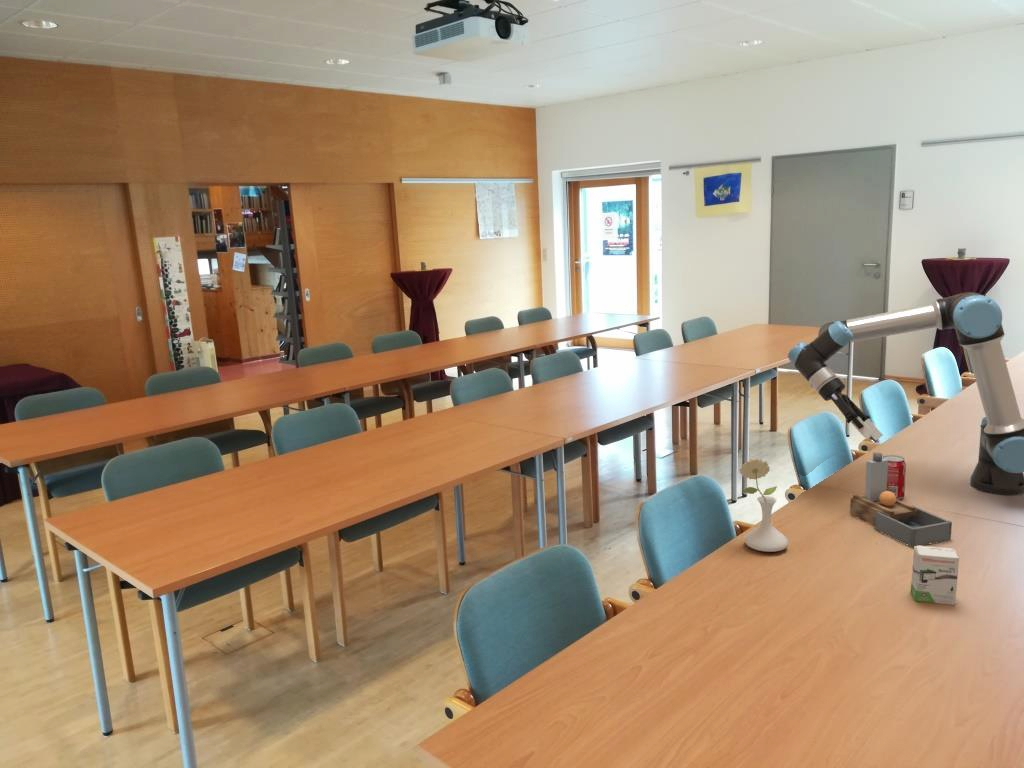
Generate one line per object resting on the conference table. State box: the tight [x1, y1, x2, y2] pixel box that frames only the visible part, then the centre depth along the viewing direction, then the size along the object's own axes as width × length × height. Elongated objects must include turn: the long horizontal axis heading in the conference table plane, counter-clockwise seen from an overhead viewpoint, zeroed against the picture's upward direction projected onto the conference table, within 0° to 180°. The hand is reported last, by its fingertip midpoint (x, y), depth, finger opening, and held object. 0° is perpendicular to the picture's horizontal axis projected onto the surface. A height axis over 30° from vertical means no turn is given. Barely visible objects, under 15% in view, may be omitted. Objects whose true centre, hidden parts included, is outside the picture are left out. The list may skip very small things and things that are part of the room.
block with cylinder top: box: [864, 452, 888, 502], centre depth 221 cm, size 2×6×14 cm, turn 106°
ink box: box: [910, 545, 960, 606], centre depth 175 cm, size 9×5×12 cm, turn 72°
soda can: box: [882, 454, 907, 501], centre depth 237 cm, size 7×7×13 cm
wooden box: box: [849, 493, 918, 527], centre depth 220 cm, size 15×10×6 cm, turn 16°
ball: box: [879, 491, 896, 506], centre depth 218 cm, size 4×4×4 cm
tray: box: [874, 504, 953, 548], centre depth 210 cm, size 14×13×5 cm
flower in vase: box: [738, 458, 789, 553], centre depth 205 cm, size 13×11×25 cm
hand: (875, 437), depth 229 cm, fingers open, 13 cm apart
